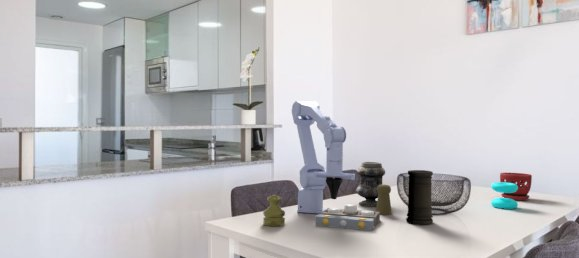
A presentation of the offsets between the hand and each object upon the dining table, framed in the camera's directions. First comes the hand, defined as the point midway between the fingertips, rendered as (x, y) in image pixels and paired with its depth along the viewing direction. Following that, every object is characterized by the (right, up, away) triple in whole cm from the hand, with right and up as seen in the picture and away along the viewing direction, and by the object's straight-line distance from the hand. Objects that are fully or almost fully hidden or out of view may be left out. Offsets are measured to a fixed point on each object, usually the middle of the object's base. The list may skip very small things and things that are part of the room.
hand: (333, 198), depth 160 cm
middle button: (+6, -5, -2) cm, 8 cm away
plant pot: (+89, -8, +47) cm, 101 cm away
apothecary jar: (+19, -7, +30) cm, 36 cm away
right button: (+11, -7, -4) cm, 14 cm away
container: (+30, -8, -3) cm, 31 cm away
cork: (+20, -8, +12) cm, 25 cm away
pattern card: (+3, -8, -10) cm, 13 cm away
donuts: (+74, -8, +26) cm, 78 cm away
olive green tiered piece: (-21, -8, -8) cm, 24 cm away
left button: (0, -7, 0) cm, 7 cm away
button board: (+6, -8, -2) cm, 10 cm away
